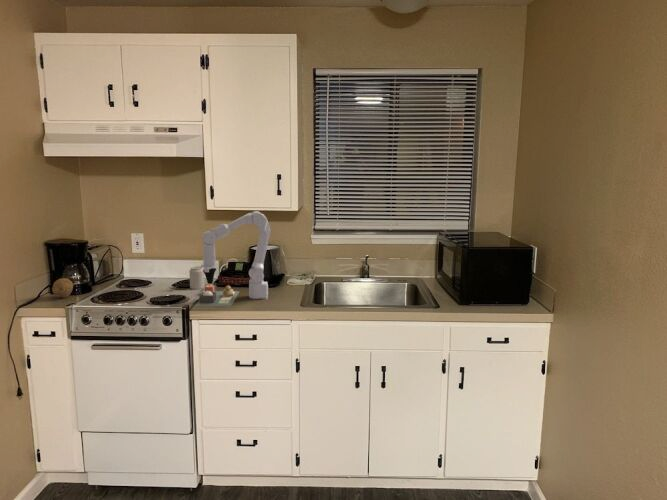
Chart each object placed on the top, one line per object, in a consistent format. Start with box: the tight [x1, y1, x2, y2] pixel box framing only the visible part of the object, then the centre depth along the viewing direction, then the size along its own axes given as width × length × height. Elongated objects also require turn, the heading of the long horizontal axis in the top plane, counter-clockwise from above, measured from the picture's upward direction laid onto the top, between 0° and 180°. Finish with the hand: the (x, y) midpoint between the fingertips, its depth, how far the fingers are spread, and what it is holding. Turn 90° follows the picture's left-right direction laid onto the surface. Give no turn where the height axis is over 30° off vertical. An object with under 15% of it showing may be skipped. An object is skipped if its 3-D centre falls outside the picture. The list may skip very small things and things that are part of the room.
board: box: [194, 290, 240, 307], centre depth 233 cm, size 17×26×4 cm, turn 2°
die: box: [204, 284, 215, 292], centre depth 240 cm, size 4×4×4 cm
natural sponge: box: [51, 277, 74, 299], centre depth 231 cm, size 9×9×10 cm
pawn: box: [222, 285, 234, 297], centre depth 237 cm, size 5×5×5 cm
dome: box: [203, 290, 213, 296], centre depth 227 cm, size 5×5×5 cm
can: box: [188, 266, 205, 290], centre depth 252 cm, size 8×8×12 cm
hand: (210, 283), depth 228 cm, fingers closed
